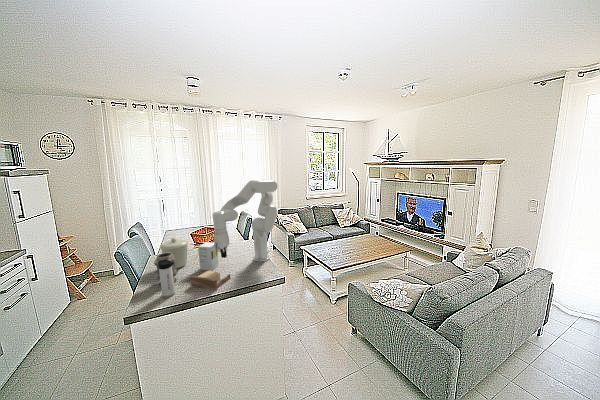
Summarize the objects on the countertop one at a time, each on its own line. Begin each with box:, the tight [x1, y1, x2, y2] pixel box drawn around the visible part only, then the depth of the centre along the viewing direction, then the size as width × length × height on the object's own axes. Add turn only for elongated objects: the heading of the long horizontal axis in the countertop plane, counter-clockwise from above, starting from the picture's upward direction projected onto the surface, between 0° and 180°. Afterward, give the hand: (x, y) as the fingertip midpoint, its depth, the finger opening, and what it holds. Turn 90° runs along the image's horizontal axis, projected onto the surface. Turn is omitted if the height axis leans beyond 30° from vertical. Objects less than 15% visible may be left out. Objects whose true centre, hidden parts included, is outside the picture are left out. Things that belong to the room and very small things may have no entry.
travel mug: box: [158, 260, 176, 299], centre depth 133 cm, size 6×7×20 cm
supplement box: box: [197, 241, 220, 271], centre depth 168 cm, size 10×9×17 cm
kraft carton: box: [197, 270, 221, 283], centre depth 148 cm, size 10×9×5 cm
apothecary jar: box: [153, 252, 179, 287], centre depth 148 cm, size 12×12×18 cm
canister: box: [159, 237, 189, 270], centre depth 171 cm, size 18×18×21 cm
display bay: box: [189, 273, 231, 292], centre depth 147 cm, size 16×18×6 cm
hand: (224, 257), depth 158 cm, fingers closed
